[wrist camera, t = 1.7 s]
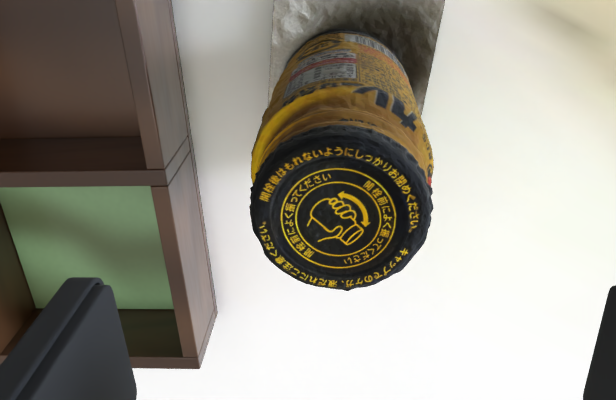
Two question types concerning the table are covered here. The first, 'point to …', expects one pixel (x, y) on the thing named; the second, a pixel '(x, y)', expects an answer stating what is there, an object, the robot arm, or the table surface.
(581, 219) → the table surface
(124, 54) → the holder
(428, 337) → the table surface
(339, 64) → the condiment
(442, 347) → the table surface
